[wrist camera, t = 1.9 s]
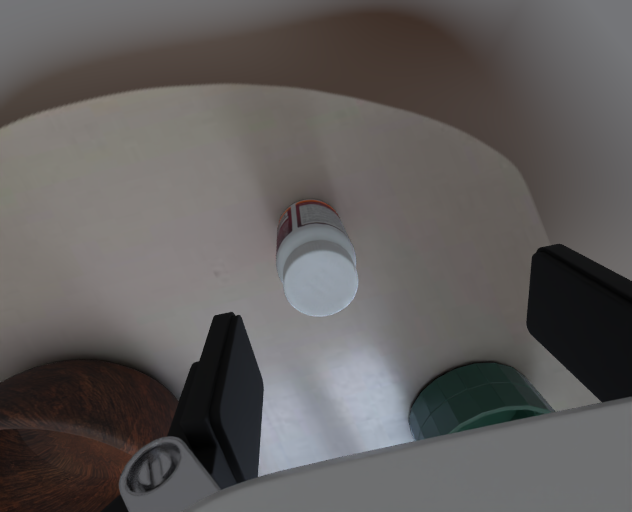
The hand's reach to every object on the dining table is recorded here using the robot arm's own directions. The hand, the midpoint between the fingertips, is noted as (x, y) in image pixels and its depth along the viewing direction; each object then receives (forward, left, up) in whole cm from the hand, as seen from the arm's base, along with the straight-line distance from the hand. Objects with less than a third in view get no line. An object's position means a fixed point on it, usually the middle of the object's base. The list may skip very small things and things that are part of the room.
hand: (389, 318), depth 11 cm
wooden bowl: (+38, +10, -23) cm, 45 cm away
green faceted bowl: (+1, +37, -23) cm, 43 cm away
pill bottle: (+4, +4, -23) cm, 23 cm away
